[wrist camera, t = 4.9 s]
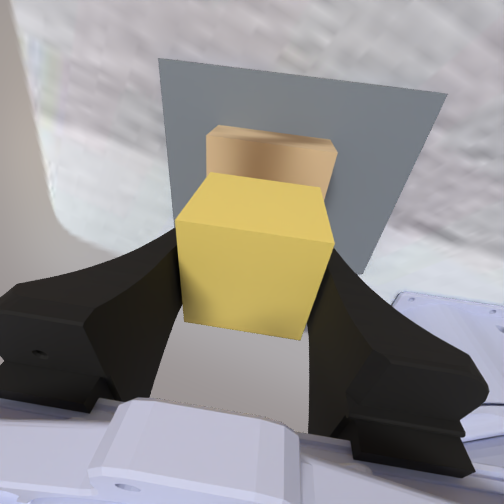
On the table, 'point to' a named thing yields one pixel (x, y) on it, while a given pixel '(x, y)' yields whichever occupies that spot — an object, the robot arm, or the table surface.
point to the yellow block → (252, 254)
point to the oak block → (270, 156)
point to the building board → (304, 124)
